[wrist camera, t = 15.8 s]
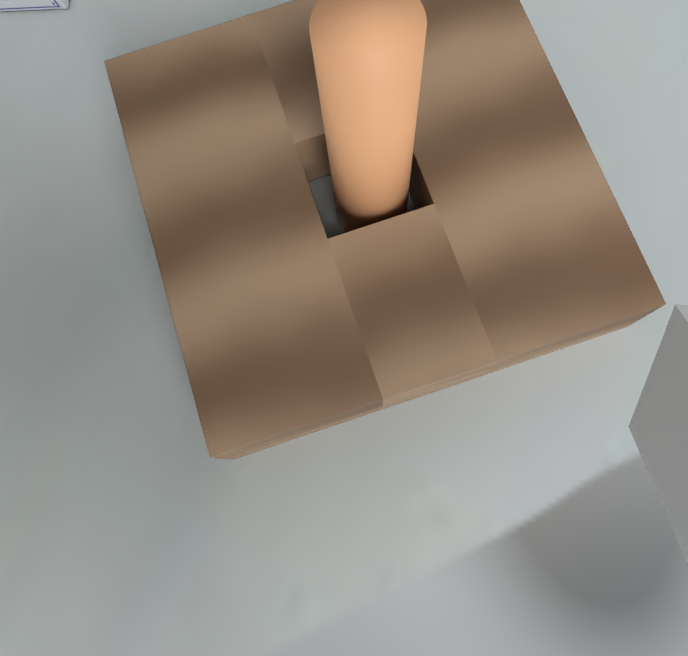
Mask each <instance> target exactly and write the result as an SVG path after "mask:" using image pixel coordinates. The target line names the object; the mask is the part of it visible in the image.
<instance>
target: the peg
mask: <svg viewBox="0 0 688 656" xmlns="http://www.w3.org/2000/svg"><path fill="white" fill-rule="evenodd" d="M426 30H427V17H426V12H425V9H424V7H423V5H422V3H421V1H420V0H318V1H317V3H316V4H315V6H314V8H313V10H312V13H311V16H310V22H309V32H310V39H311V46H312V52H313V59H314V65H315V72H316V78H317V85H318V92H319V98H320V105H321V111H322V118H323V125H324V131H325V138H326V144H327V151H328V157H329V164H330V171H331V177H332V184H333V190H334V197H335V204H336V210H337V217H338V221H339V224H340V227H341V228H342V230H343V231H344V232H345V233H347V232H350V231H353V230H356V229H359V228H362V227H365V226H368V225H371V224H374V223H377V222H380V221H383V220H386V219H389V218H392V217H395V216H398V215H401V214H404V213H406V211H407V202H408V193H409V184H410V175H411V166H412V157H413V148H414V139H415V130H416V121H417V111H418V102H419V93H420V84H421V75H422V66H423V57H424V48H425V39H426Z"/></svg>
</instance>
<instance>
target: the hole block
mask: <svg viewBox="0 0 688 656" xmlns="http://www.w3.org/2000/svg"><path fill="white" fill-rule="evenodd" d="M317 1H318V0H294V1H291V2H288V3H285V4H281V5H278V6H275V7H272V8H269V9H266V10H263V11H260V12H256V13H253V14H250V15H247V16H244V17H241V18H238V19H235V20H231V21H228V22H225V23H222V24H219V25H216V26H213V27H209V28H206V29H203V30H200V31H197V32H194V33H191V34H188V35H184V36H181V37H178V38H175V39H172V40H169V41H166V42H163V43H159V44H156V45H153V46H150V47H147V48H144V49H141V50H138V51H134V52H131V53H128V54H125V55H122V56H119V57H116V58H112V59H109V60H106V61H104V62H105V65H106V69H107V73H108V77H109V80H110V84H111V88H112V92H113V95H114V99H115V103H116V107H117V110H118V114H119V118H120V122H121V125H122V129H123V133H124V137H125V140H126V144H127V148H128V152H129V155H130V159H131V163H132V167H133V170H134V174H135V178H136V182H137V185H138V189H139V193H140V197H141V200H142V204H143V208H144V212H145V215H146V219H147V223H148V227H149V230H150V234H151V238H152V242H153V245H154V249H155V253H156V257H157V260H158V264H159V268H160V272H161V275H162V279H163V283H164V287H165V290H166V294H167V298H168V302H169V305H170V309H171V313H172V317H173V320H174V324H175V328H176V332H177V335H178V339H179V343H180V347H181V350H182V354H183V358H184V362H185V365H186V369H187V373H188V377H189V380H190V384H191V388H192V392H193V395H194V399H195V403H196V407H197V410H198V414H199V418H200V422H201V425H202V429H203V433H204V437H205V440H206V444H207V448H208V452H209V455H210V457H212V458H222V459H235V458H238V457H241V456H244V455H247V454H250V453H253V452H256V451H259V450H262V449H265V448H268V447H271V446H274V445H277V444H280V443H283V442H286V441H289V440H291V439H294V438H297V437H300V436H303V435H306V434H309V433H312V432H315V431H318V430H321V429H324V428H327V427H330V426H333V425H336V424H339V423H342V422H345V421H348V420H351V419H354V418H357V417H360V416H363V415H366V414H369V413H372V412H375V411H378V410H381V409H384V408H387V407H389V406H392V405H395V404H398V403H401V402H404V401H407V400H410V399H413V398H416V397H419V396H422V395H425V394H428V393H431V392H434V391H437V390H440V389H443V388H446V387H449V386H452V385H455V384H458V383H461V382H464V381H467V380H470V379H473V378H476V377H479V376H482V375H485V374H487V373H490V372H493V371H496V370H499V369H502V368H505V367H508V366H511V365H514V364H517V363H520V362H523V361H526V360H529V359H532V358H535V357H538V356H541V355H544V354H547V353H550V352H553V351H556V350H559V349H562V348H565V347H568V346H571V345H574V344H577V343H580V342H583V341H585V340H588V339H591V338H594V337H597V336H600V335H603V334H606V333H609V332H612V331H615V330H618V329H621V328H624V327H627V326H629V325H631V324H633V323H634V322H636V321H638V320H640V319H641V318H643V317H645V316H646V315H648V314H650V313H651V312H653V311H655V310H657V309H658V308H660V307H662V306H663V305H665V304H666V303H665V301H664V299H663V297H662V295H661V293H660V290H659V288H658V286H657V284H656V282H655V280H654V278H653V276H652V274H651V272H650V270H649V268H648V266H647V264H646V261H645V259H644V257H643V255H642V253H641V251H640V249H639V247H638V245H637V243H636V241H635V239H634V237H633V235H632V232H631V230H630V228H629V226H628V224H627V222H626V220H625V218H624V216H623V214H622V212H621V210H620V208H619V206H618V203H617V201H616V199H615V197H614V195H613V193H612V191H611V189H610V187H609V185H608V183H607V181H606V179H605V177H604V175H603V172H602V170H601V168H600V166H599V164H598V162H597V160H596V158H595V156H594V154H593V152H592V150H591V148H590V146H589V143H588V141H587V139H586V137H585V135H584V133H583V131H582V129H581V127H580V125H579V123H578V121H577V119H576V117H575V114H574V112H573V110H572V108H571V106H570V104H569V102H568V100H567V98H566V96H565V94H564V92H563V90H562V88H561V85H560V83H559V81H558V79H557V77H556V75H555V73H554V71H553V69H552V67H551V65H550V63H549V61H548V59H547V56H546V54H545V52H544V50H543V48H542V46H541V44H540V42H539V40H538V38H537V36H536V34H535V32H534V30H533V27H532V25H531V23H530V21H529V19H528V17H527V15H526V13H525V11H524V9H523V7H522V5H521V3H520V1H519V0H420V1H421V3H422V5H423V7H424V9H425V12H426V17H427V30H426V39H425V48H424V57H423V66H422V75H421V84H420V93H419V102H418V111H417V121H416V130H415V139H414V148H413V157H412V166H411V175H410V184H409V191H410V194H411V196H412V199H413V202H414V204H415V207H416V209H417V210H413V211H410V212H407V213H404V214H401V215H398V216H395V217H392V218H389V219H386V220H383V221H380V222H377V223H374V224H371V225H368V226H365V227H362V228H359V229H356V230H353V231H350V232H347V233H344V234H341V235H338V236H335V237H331V238H328V239H327V236H326V233H325V230H324V227H323V224H322V221H321V218H320V215H319V213H318V210H317V207H316V204H315V201H314V198H313V195H312V192H311V189H310V187H309V184H308V181H311V180H314V179H317V178H320V177H323V176H326V175H329V174H331V171H330V164H329V157H328V151H327V144H326V138H325V131H324V125H323V118H322V111H321V105H320V98H319V92H318V85H317V78H316V72H315V65H314V59H313V52H312V46H311V39H310V32H309V22H310V16H311V13H312V10H313V8H314V6H315V4H316V3H317Z"/></svg>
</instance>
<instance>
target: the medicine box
mask: <svg viewBox="0 0 688 656" xmlns="http://www.w3.org/2000/svg"><path fill="white" fill-rule="evenodd" d="M68 6H69V0H0V11H20V10H42V9H68Z"/></svg>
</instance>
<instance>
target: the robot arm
mask: <svg viewBox="0 0 688 656" xmlns="http://www.w3.org/2000/svg"><path fill="white" fill-rule="evenodd" d="M629 428H630V431H631V433H632V435H633V438H634V440H635V442H636V445H637V447H638V449H639V452H640V454H641V456H642V459H643V461H644V463H645V466H646V468H647V470H648V473H649V475H650V477H651V480H652V482H653V484H654V486H655V489H656V491H657V494H658V496H659V498H660V501H661V503H662V505H663V508H664V510H665V512H666V515H667V517H668V519H669V521H670V524H671V526H672V529H673V531H674V533H675V536H676V538H677V540H678V543H679V545H680V547H681V550H682V552H683V554H684V556H685V559H686V561H687V563H688V306H684V305H675V306H674V309H673V312H672V314H671V317H670V320H669V322H668V325H667V327H666V330H665V333H664V335H663V338H662V341H661V343H660V346H659V348H658V351H657V354H656V356H655V359H654V362H653V364H652V367H651V369H650V372H649V375H648V377H647V380H646V383H645V385H644V388H643V390H642V393H641V396H640V398H639V401H638V404H637V406H636V409H635V411H634V414H633V417H632V419H631V422H630V425H629Z"/></svg>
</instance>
